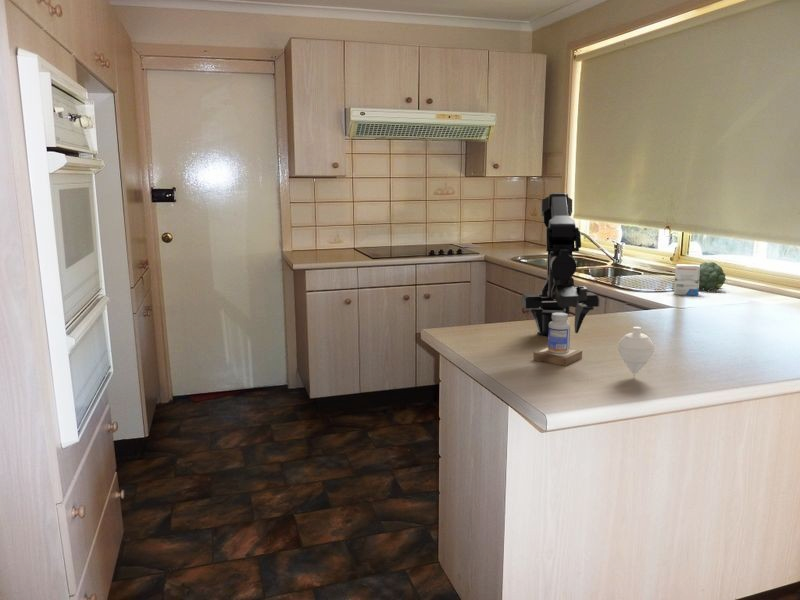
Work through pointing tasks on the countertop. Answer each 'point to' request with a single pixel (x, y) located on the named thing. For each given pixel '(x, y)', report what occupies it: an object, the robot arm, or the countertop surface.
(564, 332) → the pill bottle
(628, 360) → the spinning top
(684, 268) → the ink box
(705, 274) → the vegetable
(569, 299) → the robot arm
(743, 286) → the countertop surface
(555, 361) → the walnut picture frame
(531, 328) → the countertop surface
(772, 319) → the countertop surface
